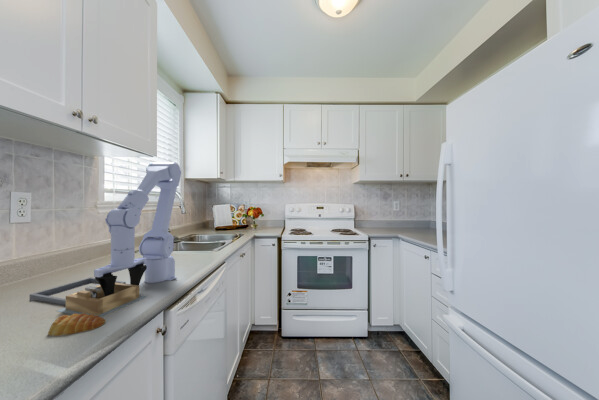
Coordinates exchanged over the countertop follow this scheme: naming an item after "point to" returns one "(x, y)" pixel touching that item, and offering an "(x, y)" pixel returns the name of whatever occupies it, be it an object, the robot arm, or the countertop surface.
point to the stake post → (93, 291)
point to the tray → (47, 293)
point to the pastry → (75, 324)
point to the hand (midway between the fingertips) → (122, 294)
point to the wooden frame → (102, 299)
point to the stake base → (102, 313)
